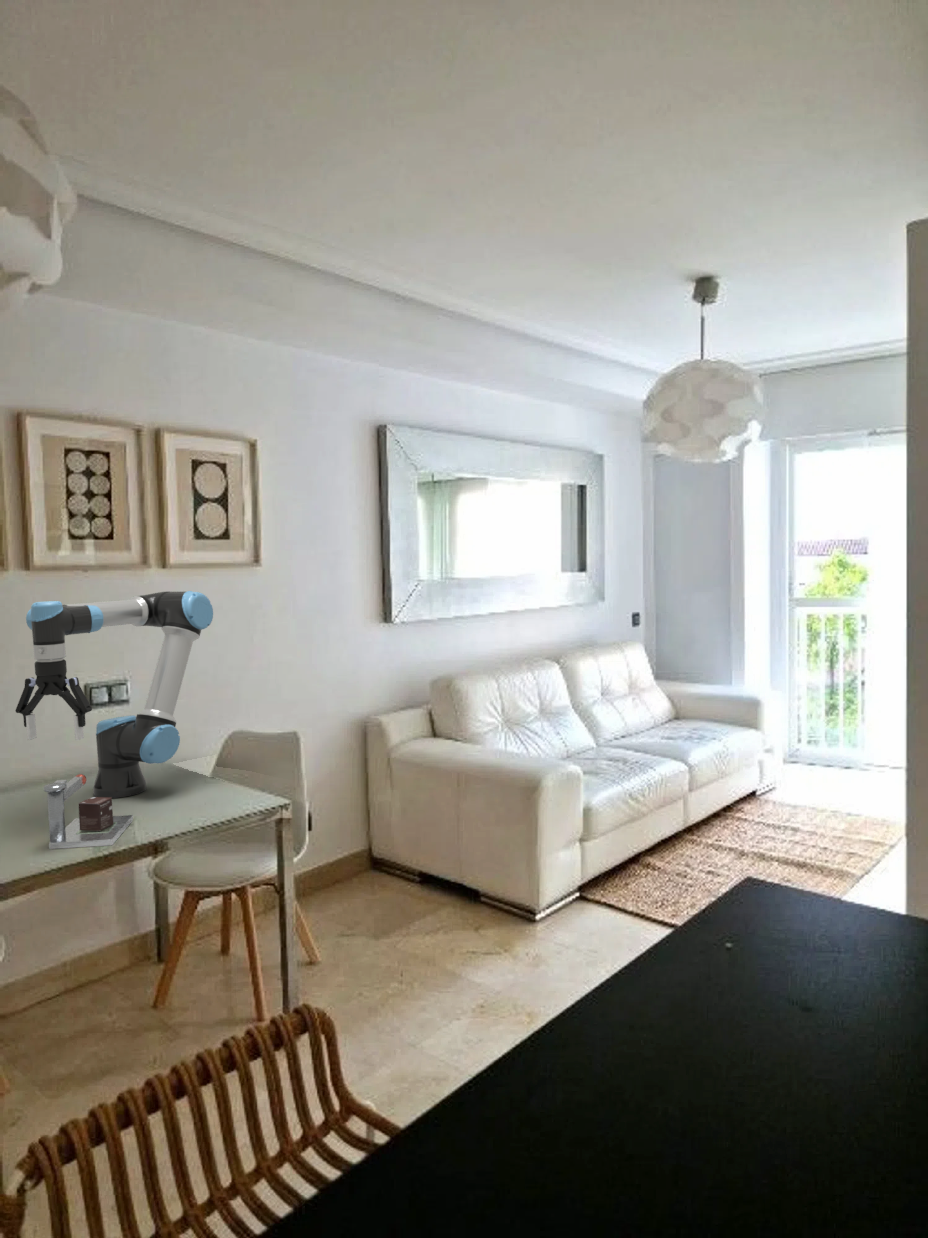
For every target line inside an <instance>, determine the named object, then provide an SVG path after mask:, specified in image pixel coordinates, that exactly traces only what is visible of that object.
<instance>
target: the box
mask: <svg viewBox="0 0 928 1238" xmlns="http://www.w3.org/2000/svg"><path fill="white" fill-rule="evenodd" d="M112 801H113V798H111V797H96V796H93V797H90V798H87V799H84V800H83V801H80V802H78V818H79V823H80V830H82V831H102V830H104V829H106V828H107V827H109V826H111V825H113V816H114V814H113V802H112Z"/></svg>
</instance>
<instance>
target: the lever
mask: <svg viewBox="0 0 928 1238" xmlns="http://www.w3.org/2000/svg"><path fill="white" fill-rule="evenodd" d="M86 783H87V776H86V775H85V774H82V773H79V774H77V775H75V776H74V777H72V778H71V779H70V780H69V781H67V779H56V780H55V781H54V782H53V783H48V784H45V785H43V791H44V792H45V793H47V792H56V791H61V790H63V796H64V803H65V802H66V801H67V800H68V799H69V798H70V797H71V796H73V795H74V794H75V793H76V792H78V790H79V789H81V788H82V787H83V786H84V785H85V784H86Z"/></svg>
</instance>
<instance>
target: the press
mask: <svg viewBox="0 0 928 1238" xmlns="http://www.w3.org/2000/svg"><path fill="white" fill-rule="evenodd" d="M46 793H47V812H48V813H47V814H48V827H49V828H48V829H49V842H48V849H49V850H54V849H55V850H56V849H71V848H73V849H74V848H88V847H104V846H113V845H114V844H115V842H116V841H117V840H118V839H119V837H120V836H122V834H123V833H124V832H125V831H126V830H127V828H128V827H129V826H130V824H132V822H133V821H134V819H133V818H134V815H133V814H129V815H113V825H111V826H109V827H107V828H106V829H104V830H102V831H82V830H80V823H79V817H77V818H73V820H72V821H71V822H69V824H68V825H66V817H65V802H64V796H63V790H61V791H56V792H46Z"/></svg>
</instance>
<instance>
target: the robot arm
mask: <svg viewBox="0 0 928 1238" xmlns="http://www.w3.org/2000/svg"><path fill="white" fill-rule="evenodd" d="M213 618H214V608H213V605H212V603H211V601H210V599H209V598H208V596H206V594H204V593H202V592H199V591H192V590H187V591H161V592H160V591H159V592H154V593H150V594H143V595H135V596H131V597H130V598H129V599H121V600H120V599H119V600H109V601H95V602H94V601H93V602H81V603H67V604H63V603H62V602H61V601H60V600H59V601H58V600H56V601H55V600H51V601H49V600H48V601H47V600H46V601H36V602H33V603H32V604H31V606H30V609H29V610H28V611H27V613H26V617H25V621H26V625H27V627H28V628H29V629H30V630H31V632H32V644H33V645H32V646H33V658H34V660H35V662H34V674H35V676H36V678H35V677H28V678H25V680H24V688H23V691H22V693H21V695H20V698H19V700H18V703H17V705H16V708H15V713H17V714H21V715H22V716H23V726H24V727H25V728H26V736H27V741H31V740H34V739H36V738H37V724H36V714H35V713H34V712H33V711H34V710H35V709H36V707H37V706H38V705H39V703H40V702H41V700H42V699H43V698H44V696H50V695H51V696H58V697H60V698H62V699H63V701H65V702H66V704H67V705H68V706H69V707H70V709H72V711H73V712H74V713H75V715H73V724H74V725H73V726H74V740H75V741H80V740H81V739H84V738H85V735H84V733H85V732H84V727H86V725H87V723H86V714H87V713H89V712H92V710H93V708H92V706H91V704H90V702H89V700H88V699H87V697H86V695H85V693H84V690H83V689H82V687H81V685H80V682H79V678H78V677H77V676H75V677H71V678H68V677H67V672H68V669H67V660H65V658H66V657H67V655H66V642H65V641H66V638H65V637H66V636H71V635H79V634H80V635H81V634H90V633H95V632H97V631H100V630H101V629H102V628H106V627H115V626H124V625H133V626H134V627H154V628H156V627H157V628H161V630H162V632H163V634H164V637H163V641H162V643H161V648H160V650H159V655H158V659H157V662H156V666H155V669H154V673H153V676H152V680H151V684H150V687H149V690H148V694H147V698H146V700H145V701H146V702H145V704H144V707H143V710H141V711H139V712H138V713H137V714H136V715H124V716H118V717H111V718H107V719H103V720H101V721H99V722H97V724H96V727H95V728H96V730H95V731H96V732H95V736H96V752H97V765H98V769H97V773H96V777H95V780H94V784H93V787H92V788H93V789H92V790H93V791H92V792H93V797H111V798H112V799H117V798H119V799H120V798H125V797H131V796H134V795H138V794H141V793H143V792H145V791H146V790H147V781H146V778H145V776H144V774H143V771H142V768H141V766H140V763H146V764H151V765H152V764H163V763H165V762H167V761H169V760H170V759H172V758H173V756H175V754H176V753H177V751H178V749H179V746H180V743H181V736H180V733H179V731H178V729H177V728H176V725H177V720H176V719H175V717H174V715H175V713H174V712H175V709H176V706H177V702H178V698H179V695H180V690H181V687H182V683H183V680H184V676H185V672H186V669H187V664H188V661H189V658H190V654H191V651H192V646H193V643H194V641H195V642H196V640H199V639H200V637H201V634H202V630H205V629H207V628H208V627H209V626H210V625H211V624H212V622H213ZM35 686H37V690H36V691H35V692H34V695H33V691H34V689H35ZM67 686H68V687H69V688H70V689H69V688H68V687H67ZM32 695H33V696H32ZM31 696H32V698H31Z"/></svg>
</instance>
